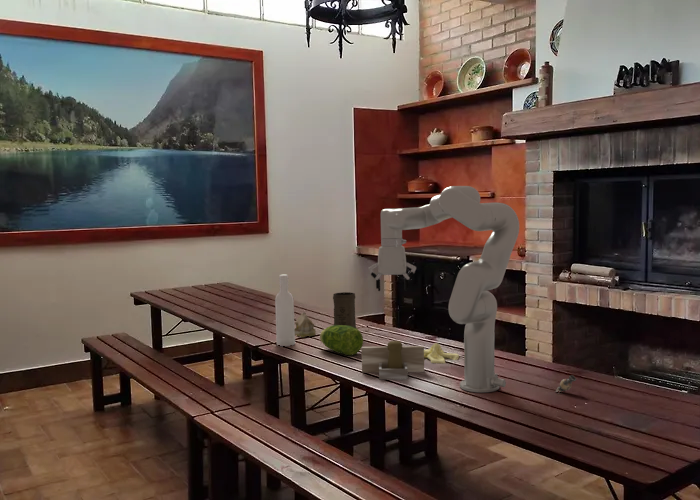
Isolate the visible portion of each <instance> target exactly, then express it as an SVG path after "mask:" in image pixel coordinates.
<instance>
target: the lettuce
mask: <svg viewBox="0 0 700 500" xmlns="http://www.w3.org/2000/svg"><path fill="white" fill-rule="evenodd" d="M319 340H320V342H321V343H322V344H323V345H324V346H325V347H326V348H328V349H329V350H331V351H334V352H336V353H338V354H342V355H345V356H349V357H351V356H354V355H356V354H358V353H359V352H360V351H361V350H362V347H363V344H364V337H363V334H362V333H361V331H360V330H359V329H358V328H357V327H356V328H354V327H352V326H346V325H334V324H332V325H329V326H328V327H326V328H324V329H323V330H322V331H321V332H320V334H319Z"/></svg>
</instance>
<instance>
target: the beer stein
mask: <svg viewBox="0 0 700 500" xmlns="http://www.w3.org/2000/svg"><path fill="white" fill-rule="evenodd" d="M332 300H333V325H346V326H352V327H354V328H357V323H356V320H357V319H356V304H355V303H356V301H355V300H356V293H354V292H347V291H345V292H336V293H333V295H332Z"/></svg>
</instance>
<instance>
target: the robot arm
mask: <svg viewBox="0 0 700 500" xmlns="http://www.w3.org/2000/svg"><path fill="white" fill-rule="evenodd" d="M452 218H453V219H454V220H455V221H457V222H458V223H461V224H462V225H464V226H465V227H467V228H468V229H470V230H471V231H476V232H487V231H492V232H491V234H490V236H489V237H488V239H487V240H486V242H485V244H484V245H483V250H482V253H481V255H480V258H479V259H478V260H476V261H471V262H468V263H466V264H464V265H463V266H462V267H461V269H460V270H459V271H458V273H457V276H456V278H455V282H454V285H453V288H452V291H451V295H450V298H449V301H448V314H449V317H450V319H451V320H452V321H453V322H455V323H456V324H459V325H465V326H464V333H463V338H464V339H463V343H464V344H463V348H464V349H463V350H464V354H463V357H464V360H463V361H464V362H463V363H464V368H463V369H464V371H463V372H464V374H463V375H464V376H463V377H464V379H463V380H461V381H460V382H459V388H461V389H462V390H464V391H467V392H471V393H482V394H483V393H492V392H496V391H498V390H499V389H500V388H505V387H506V383H507V382H506V379H503V378H499V376H498V373H496V372H495V326H496V325H495V324H496V318H497V311H498V301H497V299H496V297H495V296H494V294H493V293H491V292H490V291H492V290H493V289H494V290H495V289H497V288H498V287H499V286H500V285H501V283H502V282H503V279H504V276H505V273H506V270H507V269H508V268H507V267H508V265H509V262H510V259H511V255H512V252H513V249H514V248H515V245H516V243H517V239H518V237H519V233H520V220H519V218H518V215H517V213H516V211H515V210H514V209H513V208H512V207H511V206H510V205H508V204H506V203H503V202H482V203H481V195H480V192H479V190H477V189H476V188H475V187H473V186H471V185H451V186H448V187H446V188H444V189H443V190H442V191H441V192H440V194H437V195H434V196H433V197H432V198H431V199H430V201H429V204H425V205H423V206H418V207H404V208H403V207H401V208H384V209H383V208H382V210H381V211H380V240H381V241H380V242H381V243H380V245H381V246H379V247H378V253H377V254H378V255H377V262H376V263H374V264H372V265H371V266H369V267H367V270H368V271H369V274H370V276H371V277H372V278H373V279H375V287H376V289H377V291H378V292H380V291H381V279H380V278H381V277H382V276H386V275H387V276H392V275H393V276H397V275H400V276H401V275H403V277H404V291H406V292H407V291H408V289H409V288H410V287H409V286H410V278H412V277H413V276H414V274H415V273H416V270H417V266H416V265H413V264H411V263H409V262H407V257H406V256H407V255H406V250H405V249H406V248H405V246H403V245H405V244H407V240H406V239H403V231H406V230H418V229H419V230H420V229H423V228H427V227H431V226H434V225H437V224H440V223H442V222H444V221H445V220H448V219H452ZM376 268H377V271H378V273H377V274H376V273H375V272H374V269H376ZM407 268H409V269H411V270H410V272H409V273H407Z"/></svg>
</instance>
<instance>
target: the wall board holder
mask: <svg viewBox="0 0 700 500" xmlns="http://www.w3.org/2000/svg"><path fill="white" fill-rule="evenodd" d="M424 350H425V346H424V345H422V346H421V345H419V346H418V345H415V346H411V345H410V346H409V345H408V346H406V345H405V346H403V345H402V350H401V355H402V362H403V369H387V365H388V356H389V350H388V348H387V346H362V347H361V374H363V373H366V374H367V373H378V374H379V375H378V379H379V380H408V373H425V358H424Z"/></svg>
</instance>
